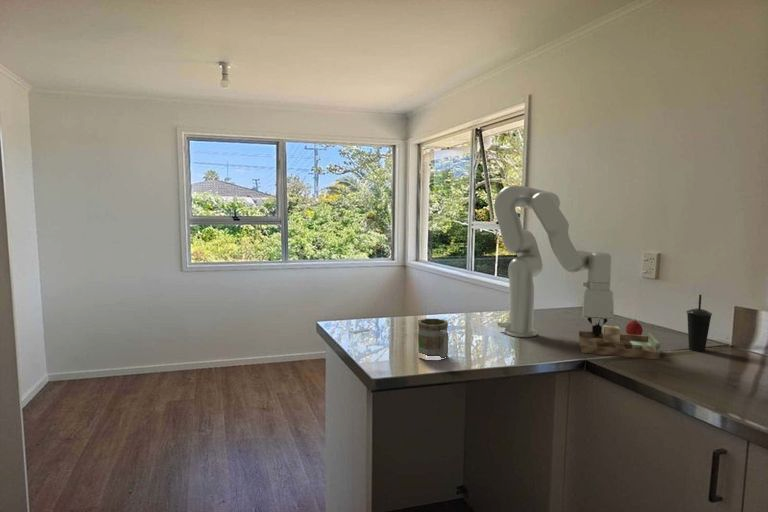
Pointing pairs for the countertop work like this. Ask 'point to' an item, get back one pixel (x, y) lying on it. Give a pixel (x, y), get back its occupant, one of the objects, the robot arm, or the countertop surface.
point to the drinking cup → (698, 327)
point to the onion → (634, 328)
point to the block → (611, 334)
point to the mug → (433, 337)
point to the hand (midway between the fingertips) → (596, 335)
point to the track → (620, 345)
